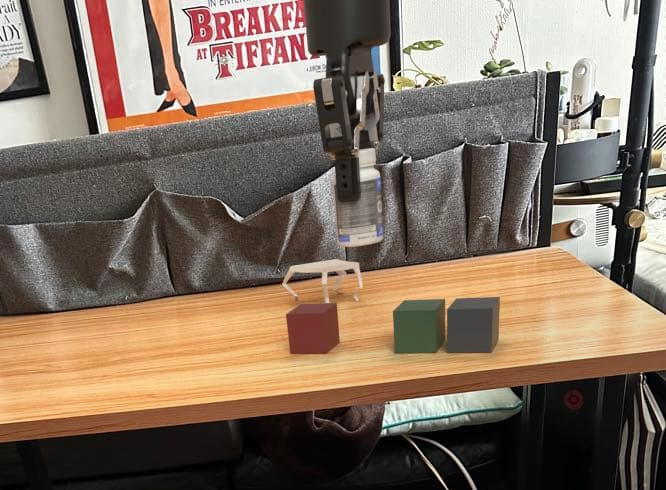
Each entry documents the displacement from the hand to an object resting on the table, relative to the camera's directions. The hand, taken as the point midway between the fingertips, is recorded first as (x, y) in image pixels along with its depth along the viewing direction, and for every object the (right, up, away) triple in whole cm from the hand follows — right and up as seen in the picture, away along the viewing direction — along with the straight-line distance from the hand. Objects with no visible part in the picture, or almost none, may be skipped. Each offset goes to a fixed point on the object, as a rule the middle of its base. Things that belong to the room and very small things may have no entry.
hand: (358, 196), depth 72 cm
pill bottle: (+1, -4, +2) cm, 5 cm away
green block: (+7, -14, +5) cm, 16 cm away
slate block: (+12, -14, +3) cm, 19 cm away
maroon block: (-4, -12, +10) cm, 16 cm away
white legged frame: (-1, 0, +31) cm, 31 cm away
